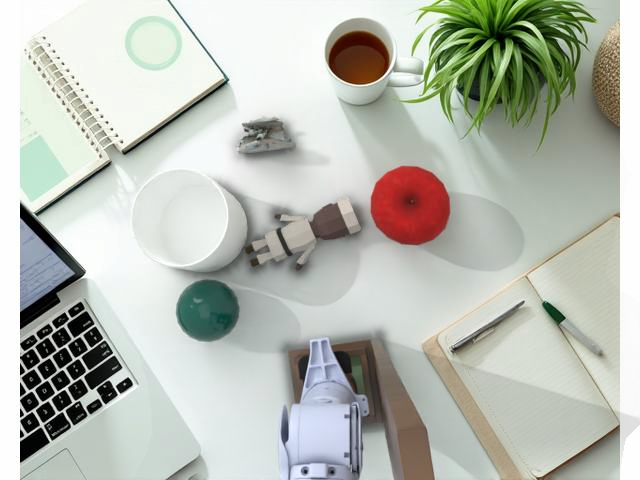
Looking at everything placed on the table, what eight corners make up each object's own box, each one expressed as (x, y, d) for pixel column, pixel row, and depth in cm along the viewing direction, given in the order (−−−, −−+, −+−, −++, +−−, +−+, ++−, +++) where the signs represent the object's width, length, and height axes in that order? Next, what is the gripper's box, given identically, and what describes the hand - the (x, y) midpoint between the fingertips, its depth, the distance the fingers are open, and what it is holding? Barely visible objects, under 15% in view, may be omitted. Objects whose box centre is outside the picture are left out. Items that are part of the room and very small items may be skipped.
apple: (454, 234, 81) (468, 224, 71) (386, 261, 82) (390, 255, 71) (425, 165, 82) (435, 145, 72) (358, 192, 83) (358, 176, 72)
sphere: (188, 342, 82) (169, 347, 74) (183, 282, 83) (165, 281, 75) (247, 337, 82) (235, 341, 74) (242, 277, 83) (230, 274, 75)
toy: (263, 285, 83) (367, 243, 82) (256, 285, 78) (365, 240, 77) (241, 229, 84) (343, 187, 83) (233, 226, 79) (341, 181, 78)
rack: (391, 420, 80) (472, 712, 23) (299, 432, 80) (162, 747, 24) (379, 337, 81) (426, 427, 24) (288, 350, 81) (131, 467, 25)
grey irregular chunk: (297, 150, 84) (292, 136, 77) (239, 157, 84) (229, 145, 77) (294, 119, 84) (288, 103, 77) (236, 127, 85) (225, 112, 78)
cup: (180, 174, 84) (151, 154, 72) (259, 202, 83) (243, 185, 71) (150, 255, 84) (115, 248, 72) (230, 284, 83) (208, 281, 71)
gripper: (381, 492, 57) (376, 455, 71) (357, 335, 59) (357, 329, 72) (306, 502, 57) (316, 463, 71) (284, 346, 59) (298, 337, 72)
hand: (333, 396), depth 72 cm, fingers closed on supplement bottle, 6 cm apart
